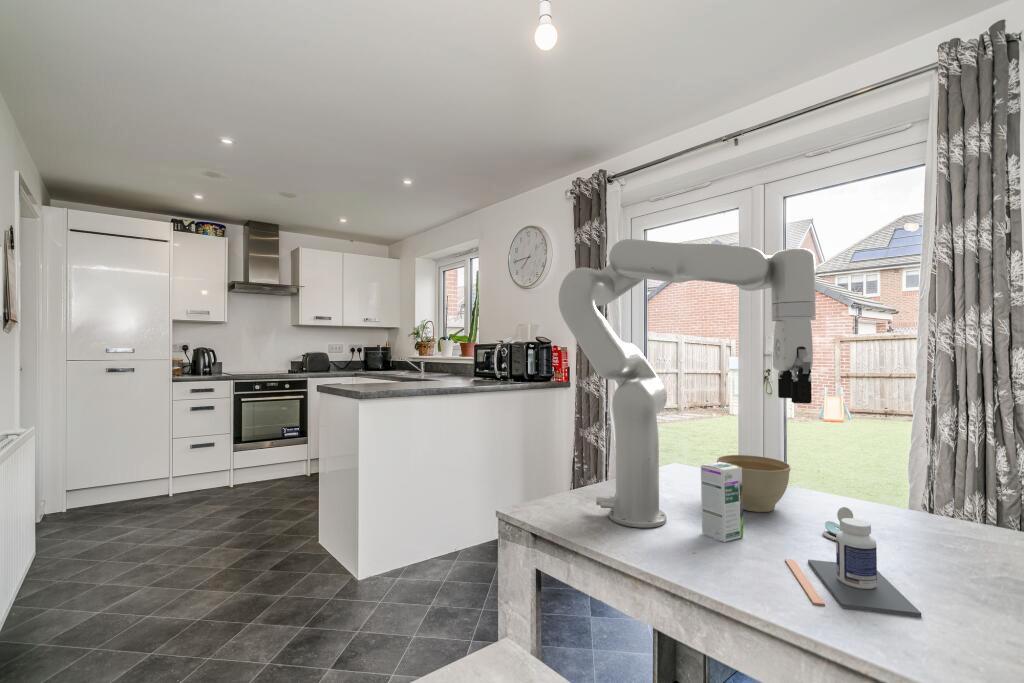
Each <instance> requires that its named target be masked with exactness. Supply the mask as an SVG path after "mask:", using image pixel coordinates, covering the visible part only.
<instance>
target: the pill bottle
mask: <svg viewBox="0 0 1024 683" xmlns="http://www.w3.org/2000/svg"><path fill="white" fill-rule="evenodd" d="M841 529H842V530H843V531H840V532H838V533H837V535H836V541H835V544H836V545H835V547H836V548H835V549H836V558H835V559H836V562H837V578H838V579H839V580H840V581H841V582H842V583H844V584H846V585H849V586H851V587H855V588H860V589H872V588H875V587H876V586H877V571H878V568H877V566H878V564H877V563H878V560H877V558H878V557H877V555H878V554H877V553H878V552H877V541H876V539H875V538H874V537H873V536H871V534H872V525H871V523H869V522H868V521H866V520H863V519H858V518H854V517H853V518H843V519H841Z"/></svg>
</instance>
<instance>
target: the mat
mask: <svg viewBox="0 0 1024 683" xmlns="http://www.w3.org/2000/svg"><path fill="white" fill-rule="evenodd" d="M807 564H808V565H809V566H810V567H811V569H812V570H813V571H814V572H816V573H815V574H816V575H817V577H818V578H819V579H820V580H821V582H822V583H823V585H824V587H826V589H827V590H828V591H829V593H830V594H831V595H832V598H834V600H835V601H836V603H838V604H839V606H840V607H841V608H842V609H848V610H849V609H850V610H857V611H863V612H864V611H865V612H875V613H883V614H888V615H889V614H891V615H897V616H898V615H900V616H907V617H908V616H909V617H916V618H922V612H921V611H920V610H919V609H918V608H917V607H916V606H915V605H914V604H913V603H911V601H909V599H907V597H906V596H904V595H903V593H901V592H900V591H899V590H898V589H897V588H896V587H895V586H894V585H893V584H892V583H891V582H890V581H889V580H888V579H887V578H886V577H885V576H884V575H882V573H880V572H879V571H878V570H877V586H876V587H875V588H872V589H860V588H855V587H851V586H849V585H846V584H844V583H842V582H841V581H840V580H839V579H838V578H837V561H836V562H835V561H829V560H827V561H826V560H819V559H818V560H816V559H807Z"/></svg>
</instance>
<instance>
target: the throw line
mask: <svg viewBox="0 0 1024 683" xmlns="http://www.w3.org/2000/svg"><path fill="white" fill-rule="evenodd" d="M784 562H785V563H786V562H787V563H786V564H787V566H788V568H789V567H790V568H789V569H790V570H792V571H791V572H792V574H793V576H794V577H795V576H796V577H795V578H796V580H797V581H798V583H799V584H800V586H801V588H802V589H803V591H804V592H805V594H806V596H807V597H808V599H809V600H810V601H811V604H813V606H821V607H822V606H823V607H825V605H826V604H825V602H824V601H823V599H822V597H821V596H820V595H819V593H818V592H817V591H816V589H815V588H814V586H813V585H812V583H811V582H810V580H809V579H808V577H807V576H806V575H805V573H804V572H803V570H802V569H801V568H800V566H799V564H798V563H797V561H795V559H789V558H784Z"/></svg>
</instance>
